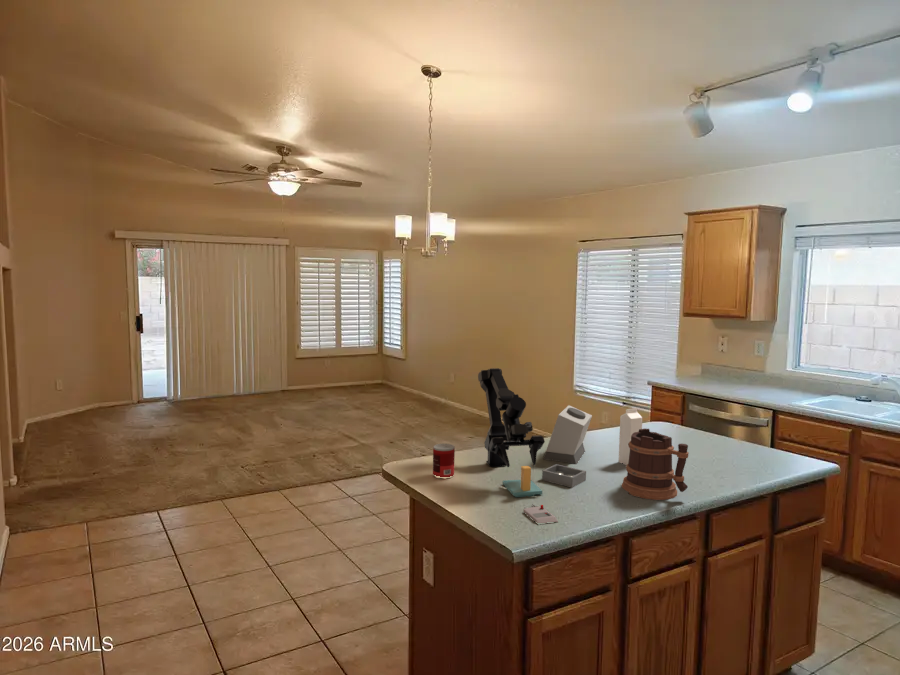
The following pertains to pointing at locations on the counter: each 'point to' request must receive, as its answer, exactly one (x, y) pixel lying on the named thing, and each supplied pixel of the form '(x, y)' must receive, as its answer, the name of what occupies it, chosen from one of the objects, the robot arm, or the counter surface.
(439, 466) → the canned food
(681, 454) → the mug
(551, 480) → the tub
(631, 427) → the milk
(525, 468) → the lid
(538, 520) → the electrical control box
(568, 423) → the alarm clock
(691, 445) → the counter surface
